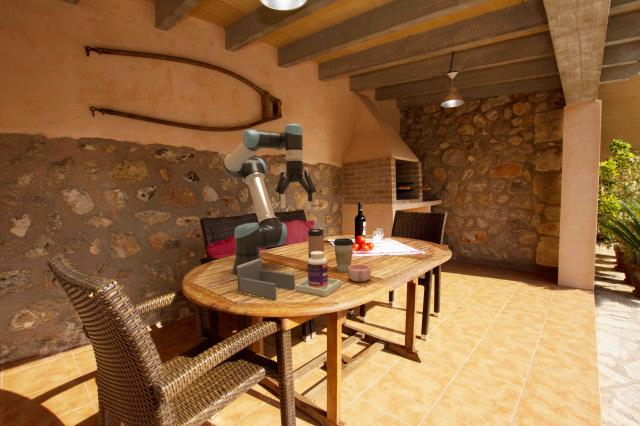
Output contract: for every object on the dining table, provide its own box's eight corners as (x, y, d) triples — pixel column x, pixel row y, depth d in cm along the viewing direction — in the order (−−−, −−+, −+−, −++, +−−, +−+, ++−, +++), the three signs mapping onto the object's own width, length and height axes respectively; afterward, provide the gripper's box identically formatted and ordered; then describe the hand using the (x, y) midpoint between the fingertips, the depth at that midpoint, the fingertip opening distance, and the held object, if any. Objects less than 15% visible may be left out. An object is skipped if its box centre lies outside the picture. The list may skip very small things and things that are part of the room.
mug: (373, 283, 128) (372, 269, 128) (349, 284, 128) (349, 270, 127) (367, 274, 140) (366, 262, 140) (345, 275, 140) (345, 263, 139)
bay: (238, 292, 120) (236, 266, 119) (260, 282, 132) (259, 258, 131) (274, 300, 111) (273, 271, 110) (294, 289, 123) (294, 263, 122)
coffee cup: (332, 267, 153) (332, 238, 152) (351, 266, 154) (351, 237, 152) (335, 273, 143) (334, 242, 142) (355, 272, 144) (355, 241, 143)
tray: (295, 291, 120) (295, 285, 120) (312, 281, 132) (312, 275, 132) (325, 296, 114) (325, 290, 114) (340, 285, 126) (340, 280, 125)
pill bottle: (326, 291, 118) (325, 255, 117) (306, 290, 120) (305, 254, 118) (329, 284, 126) (328, 250, 125) (310, 283, 128) (309, 250, 126)
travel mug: (326, 268, 152) (325, 229, 150) (321, 272, 145) (320, 231, 143) (312, 267, 154) (311, 228, 152) (306, 271, 147) (305, 231, 145)
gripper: (266, 161, 136) (268, 208, 138) (314, 158, 124) (315, 210, 126) (277, 162, 142) (278, 207, 144) (323, 159, 130) (324, 208, 132)
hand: (295, 208), depth 135 cm, fingers open, 13 cm apart
